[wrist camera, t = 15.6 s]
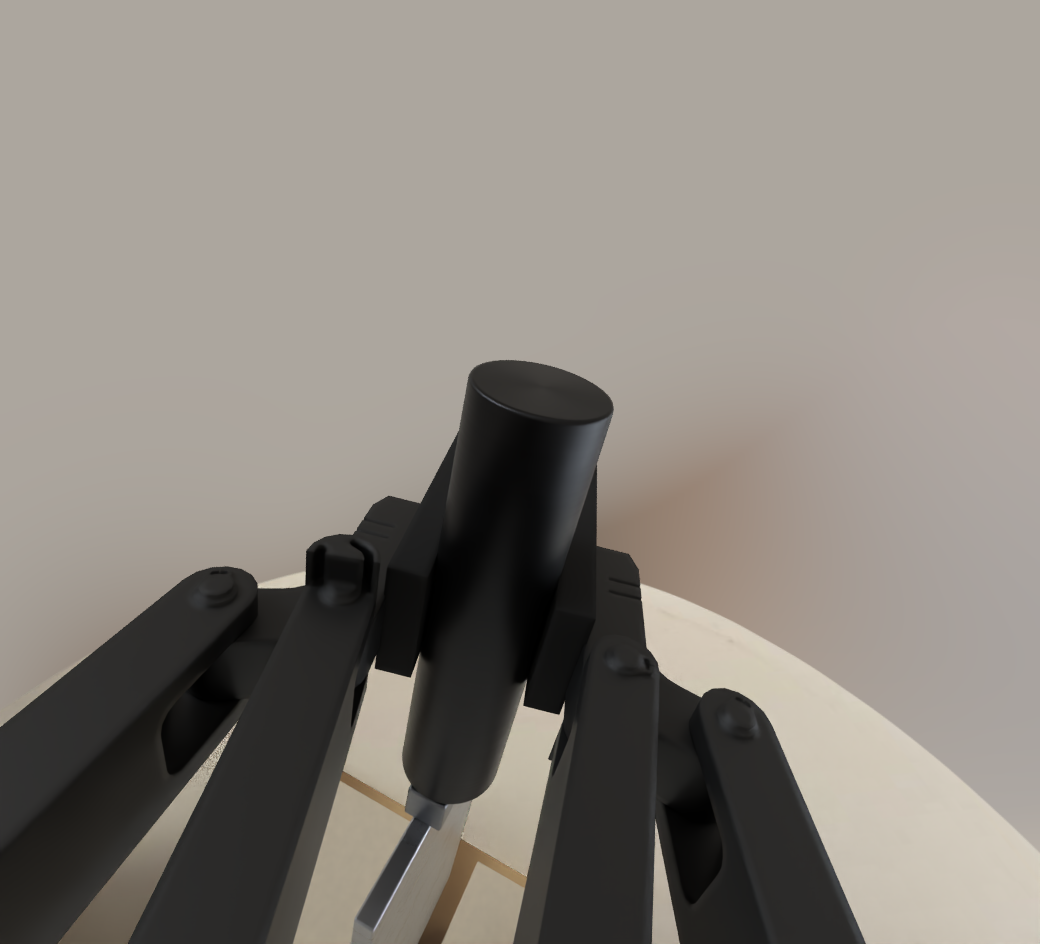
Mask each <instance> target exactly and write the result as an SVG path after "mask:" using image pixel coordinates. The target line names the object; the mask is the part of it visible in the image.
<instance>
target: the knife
mask: <svg viewBox="0 0 1040 944" xmlns="http://www.w3.org/2000/svg"><path fill="white" fill-rule="evenodd" d="M613 410H614V409H613V403H612V400H611V399H610V397H609V396H608V395H607V394H606V393H605V392H604V391H603V390H601V389H600V388H599V387H598V386H596V385H594V384H593V383H591V382H589V381H587V380H586V379H584V378H582V377H580V376H577V375H575V374H573V373H570V372H567V371H565V370H562V369H559V368H555V367H551V366H547V365H543V364H539V363H533V362H526V361H514V360H499V361H492V362H486V363H482V364H480V365H478V366H476V367H475V368H474V369H473V370H472V371H471V373H470V374H469V377H468V383H467V388H466V394H465V400H464V405H463V411H462V417H461V422H460V428H459V433H458V439H457V445H456V451H455V456H454V462H453V468H452V473H451V479H450V485H449V490H448V496H447V502H446V507H445V513H444V519H443V524H442V530H441V536H440V541H439V547H438V554H437V559H436V565H435V571H434V576H433V582H432V588H431V593H430V599H429V605H428V611H427V616H426V622H425V628H424V633H423V639H422V645H421V650H420V655H419V661H418V667H417V672H416V678H415V684H414V689H413V695H412V701H411V706H410V712H409V718H408V723H407V729H406V735H405V740H404V746H403V753H402V761H403V767H404V770H405V774H406V776H407V778H408V780H409V781H410V783H411V786H410V787H409V790H408V796H407V801H406V806H405V812H406V813H408V814H410V815H411V816H413V818H412V819H411V821H410V823H409V825H408V826H407V828H406V830H405V832H404V833H403V835H402V837H401V839H400V840H399V842H398V844H397V845H396V847H395V849H394V851H393V852H392V854H391V856H390V858H389V859H388V861H387V863H386V864H385V866H384V868H383V870H382V871H381V873H380V875H379V877H378V878H377V880H376V882H375V884H374V885H373V887H372V889H371V890H370V892H369V894H368V896H367V897H366V899H365V901H364V903H363V904H362V906H361V908H360V909H359V911H358V913H357V915H356V916H355V919H354V925H353V932H352V939H351V944H418V942H419V940H420V938H421V936H422V934H423V931H424V929H425V927H426V925H427V923H428V921H429V919H430V917H431V915H432V912H433V910H434V908H435V906H436V904H437V902H438V900H439V898H440V895H441V893H442V891H443V889H444V887H445V885H446V883H447V881H448V878H449V876H450V873H451V869H452V866H453V863H454V859H455V856H456V853H457V849H458V846H459V843H460V839H461V836H462V832H463V829H464V826H465V822H466V819H467V816H468V812H469V809H470V806H471V802H472V800H473V799H475V798H476V797H478V796H480V795H481V794H482V793H484V792H485V791H486V790H487V789H488V787H489V786H490V785H491V783H492V782H493V780H494V778H495V776H496V773H497V770H498V767H499V764H500V761H501V758H502V755H503V752H504V749H505V746H506V742H507V739H508V736H509V733H510V730H511V727H512V724H513V721H514V718H515V715H516V712H517V709H518V705H519V702H520V699H521V696H522V693H523V690H524V687H525V684H526V681H527V677H528V674H529V671H530V668H531V665H532V662H533V659H534V656H535V652H536V649H537V646H538V643H539V640H540V637H541V634H542V631H543V628H544V625H545V622H546V618H547V615H548V612H549V609H550V606H551V603H552V600H553V597H554V594H555V591H556V588H557V585H558V582H559V579H560V576H561V573H562V570H563V567H564V563H565V560H566V557H567V554H568V551H569V548H570V545H571V542H572V539H573V536H574V533H575V529H576V526H577V523H578V520H579V517H580V514H581V511H582V508H583V505H584V502H585V499H586V496H587V492H588V489H589V486H590V483H591V480H592V477H593V474H594V471H595V468H596V465H597V461H598V458H599V455H600V452H601V449H602V446H603V443H604V440H605V437H606V434H607V431H608V427H609V425H610V421H611V418H612V415H613Z"/></svg>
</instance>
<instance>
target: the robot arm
mask: <svg viewBox="0 0 1040 944" xmlns="http://www.w3.org/2000/svg"><path fill="white" fill-rule="evenodd" d="M458 433H459V432H458ZM458 433H457V436H456V437H455V439H454V441H453V443H452V445H451V447H450V449H449V450H448V452H447V454H446V456H445V458H444V460H443V462H442V464H441V466H440V468H439V469H438V472H437V473H436V475H435V478H434V479H433V481H432V483H431V485H430V487H429V488H428V490H427V492H426V494H425V496H424V498H423V500H422V502H421V504H420V503H416V502H412V501H408V500H404V499H400V498H396V497H392V496H388V497H385V498H384V499H382V500H380V501H379V502H377V503H375V504H373V506H372V507H371V508H370V510H369V512H368V513H367V514H366V516H365V517H364V520H363V521H362V522H361V523H360V525H359V527H358V528H357V531H355V532H354V534H353V535H343V534H338V535H333V536H327V537H324V538H322V539H320V540H318V541H316V542H314V543H313V544H312V545H311V546H310V547H309V549H307V551H306V582H305V586H300V587H296V588H284V589H263V588H258V586H257V582H256V581H255V579H254V577H253V576H252V575H251V574H249V573H247V572H246V571H244V570H242V569H238V568H233V567H212V568H209V569H205V570H202V571H198V572H196V573H194V574H192V575H190V576H189V577H187V578H185V579H184V580H182V581H181V582H180V583H179V584H177V585H176V586H175V587H174V588H172V589H171V590H170V591H169V592H167V593H166V594H165V595H164V596H162V597H161V598H160V599H159V600H158V601H156V602H155V603H154V604H153V605H152V606H150V607H149V608H148V609H146V610H145V611H144V612H143V613H141V614H140V615H139V616H138V617H137V618H135V619H134V620H133V621H131V622H130V623H129V624H128V625H126V626H125V627H124V628H123V629H122V630H120V631H119V632H118V633H117V634H115V635H114V636H113V637H112V638H110V639H109V640H108V641H107V642H105V643H104V644H103V645H102V646H100V647H99V648H98V649H97V650H95V651H94V652H93V653H92V654H91V655H89V656H88V657H87V658H86V659H84V660H83V661H82V662H81V663H79V664H78V665H77V666H76V667H74V668H73V669H72V670H71V671H69V672H68V673H67V674H66V675H64V676H63V677H62V678H61V679H60V680H58V681H57V682H56V683H55V684H53V685H52V686H51V687H50V688H48V689H47V690H46V691H45V692H43V693H42V694H41V695H40V696H38V697H37V698H36V699H35V700H34V701H32V702H31V703H30V704H29V705H27V706H26V707H25V708H24V709H22V710H21V711H20V712H19V713H17V714H16V715H15V716H14V717H12V718H11V719H10V720H9V721H7V722H6V723H5V724H4V725H3V726H1V727H0V944H57V943H58V942H59V941H60V939H61V938H62V937H63V936H64V934H65V933H66V932H67V931H68V930H69V928H70V927H71V926H72V925H73V923H74V922H75V921H76V920H77V918H78V917H79V916H80V915H81V914H82V912H83V911H84V910H85V909H86V907H87V906H88V905H89V904H90V902H91V901H92V900H93V899H94V897H95V896H96V895H97V894H98V893H99V891H100V890H101V889H102V888H103V886H104V885H105V884H106V883H107V881H108V880H109V879H110V878H111V877H112V875H113V874H114V873H115V872H116V870H117V869H118V868H119V867H120V865H121V864H122V863H123V862H124V861H125V859H126V858H127V857H128V856H129V854H130V853H131V852H132V851H133V849H134V848H135V847H136V846H137V844H138V843H139V842H140V841H141V840H142V838H143V837H144V836H145V835H146V833H147V832H148V831H149V830H150V828H151V827H152V826H153V825H154V824H155V822H156V821H157V820H158V819H159V817H160V816H161V815H162V814H163V812H164V811H165V810H166V809H167V807H168V806H169V805H170V804H171V803H172V801H173V800H174V799H175V798H176V796H177V795H178V794H179V793H180V791H181V790H182V789H183V788H184V787H185V785H186V784H187V783H188V782H189V780H190V779H191V778H192V777H193V775H194V774H195V773H196V772H197V771H198V769H199V768H200V767H201V766H202V764H203V763H204V762H205V761H206V759H207V758H208V757H209V756H210V754H211V753H212V752H213V751H214V750H215V748H216V747H217V746H218V745H219V743H220V742H221V741H222V740H223V738H224V737H225V736H226V735H227V734H228V732H229V731H230V730H231V729H232V727H233V726H234V725H235V724H236V722H237V721H238V722H237V724H236V726H235V728H234V730H233V732H232V734H231V736H230V738H229V740H228V742H227V744H226V746H225V748H224V750H223V752H222V755H221V757H220V759H219V761H218V763H217V765H216V767H215V769H214V771H213V773H212V775H211V777H210V779H209V781H208V783H207V785H206V787H205V789H204V791H203V793H202V795H201V797H200V799H199V801H198V803H197V805H196V807H195V809H194V811H193V813H192V815H191V817H190V819H189V821H188V823H187V825H186V827H185V829H184V831H183V833H182V835H181V837H180V839H179V841H178V843H177V845H176V847H175V849H174V851H173V853H172V855H171V857H170V859H169V861H168V863H167V865H166V867H165V869H164V872H163V874H162V876H161V878H160V880H159V882H158V884H157V886H156V888H155V890H154V892H153V894H152V896H151V898H150V900H149V902H148V904H147V906H146V908H145V910H144V912H143V914H142V916H141V918H140V920H139V922H138V924H137V926H136V928H135V930H134V932H133V934H132V936H131V938H130V940H129V942H128V944H293V942H294V938H295V935H296V931H297V928H298V924H299V921H300V917H301V914H302V910H303V907H304V903H305V900H306V896H307V893H308V890H309V886H310V883H311V879H312V876H313V872H314V869H315V865H316V862H317V858H318V855H319V851H320V848H321V844H322V841H323V837H324V834H325V831H326V827H327V824H328V820H329V817H330V813H331V810H332V806H333V803H334V799H335V796H336V792H337V789H338V785H339V782H340V778H341V775H342V772H343V768H344V765H345V761H346V758H347V754H348V751H349V747H350V744H351V740H352V737H353V733H354V730H355V726H356V723H357V719H358V716H359V712H360V709H361V706H362V702H363V699H364V695H365V692H366V688H367V679H368V672H369V670H370V667H371V665H372V663H373V661H374V659H375V656H376V662H375V669H378V670H382V671H386V672H390V673H394V674H398V675H402V676H406V677H410V678H411V675H412V672H413V670H414V667H415V664H416V661H417V659H418V656H419V653H420V650H421V645H422V639H423V633H424V628H425V622H426V616H427V611H428V605H429V599H430V593H431V588H432V582H433V576H434V571H435V565H436V559H437V554H438V547H439V541H440V536H441V530H442V524H443V519H444V513H445V507H446V502H447V496H448V490H449V485H450V479H451V473H452V468H453V462H454V456H455V451H456V445H457V439H458ZM596 520H597V465H596V468H595V471H594V474H593V477H592V480H591V483H590V486H589V489H588V492H587V496H586V499H585V502H584V505H583V508H582V511H581V514H580V517H579V520H578V523H577V526H576V529H575V533H574V536H573V539H572V542H571V545H570V548H569V551H568V554H567V557H566V560H565V563H564V567H563V570H562V573H561V576H560V579H559V582H558V585H557V588H556V591H555V594H554V597H553V600H552V603H551V606H550V609H549V612H548V615H547V618H546V622H545V625H544V628H543V631H542V634H541V637H540V640H539V643H538V646H537V649H536V652H535V656H534V659H533V662H532V665H531V668H530V671H529V674H528V677H527V684H526V691H525V698H524V705H523V706H526V707H530V708H534V709H538V710H542V711H546V712H550V713H554V714H558V715H559V714H560V712H561V709H562V707H563V704H564V701H565V709H564V720H563V722H562V725H561V727H560V730H559V733H558V735H557V738H556V740H555V743H554V745H553V748H552V750H551V753H550V755H549V758H548V759H549V760H552V763H551V767H550V772H549V777H548V781H547V786H546V791H545V795H544V800H543V805H542V810H541V814H540V819H539V824H538V828H537V833H536V838H535V843H534V847H533V852H532V857H531V861H530V866H529V871H528V875H527V880H526V885H525V890H524V894H523V899H522V904H521V908H520V913H519V918H518V923H517V927H516V932H515V937H514V941H513V944H652V916H653V882H654V848H655V818H656V824H657V829H658V834H659V839H660V844H661V849H662V854H663V859H664V864H665V870H666V875H667V880H668V885H669V890H670V895H671V900H672V905H673V910H674V915H675V921H676V926H677V931H678V936H679V941H680V944H866V943H865V941H864V938H863V936H862V934H861V931H860V929H859V927H858V924H857V922H856V920H855V917H854V915H853V913H852V911H851V908H850V906H849V904H848V901H847V899H846V897H845V894H844V892H843V890H842V887H841V885H840V883H839V880H838V878H837V876H836V873H835V871H834V869H833V866H832V864H831V862H830V859H829V857H828V855H827V852H826V850H825V848H824V845H823V843H822V841H821V838H820V836H819V834H818V831H817V829H816V827H815V824H814V822H813V820H812V817H811V815H810V813H809V810H808V808H807V806H806V803H805V801H804V799H803V796H802V794H801V792H800V789H799V787H798V785H797V782H796V780H795V778H794V775H793V773H792V771H791V769H790V766H789V764H788V762H787V759H786V757H785V755H784V752H783V750H782V748H781V745H780V743H779V741H778V738H777V736H776V734H775V731H774V729H773V727H772V725H771V723H770V721H769V720H768V718H767V716H766V715H765V713H764V712H763V711H762V710H761V709H760V708H759V707H758V706H757V705H756V704H755V703H754V702H753V701H752V700H750V699H748V698H747V697H745V696H743V695H742V694H740V693H738V692H735V691H732V690H729V689H725V688H718V689H711V690H709V691H708V692H706V693H704V694H703V696H702V698H701V697H699V696H697V695H695V694H693V693H691V692H689V691H688V690H686V689H684V688H682V687H680V686H678V685H677V684H675V683H673V682H672V681H670V680H669V679H667V678H666V677H665V676H664V675H663V674H662V673H661V672H659V668H658V663H657V661H656V660H655V658H654V657H653V655H652V653H651V652H650V651H649V650H648V649H647V647H646V638H645V628H644V618H643V608H642V601H641V588H640V578H639V569H638V568H637V566H636V565H635V563H634V562H633V560H632V558H631V557H630V555H629V554H626V553H622V552H618V551H614V550H610V549H606V548H602V547H598V546H596V533H597V532H596V531H597V529H596V527H597V524H596V523H597V521H596Z"/></svg>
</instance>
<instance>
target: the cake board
mask: <svg viewBox="0 0 1040 944" xmlns="http://www.w3.org/2000/svg"><path fill="white" fill-rule="evenodd" d="M340 781H341V782H343V783H345V784H346V785H348V786H350V787H352V788H353V789H355V790H357V791H358V792H360V793H362V794H364V795H365V796H367V797H369V798H370V799H372V800H374V801H376V802H377V803H379V804H381V805H382V806H384V807H386V808H388V809H389V810H391V811H393V812H394V813H396V814H398V815H400V816H401V817H403V818H405V819H407V820H408V821H411V819H412V818H413V816H411V815H410V814H408V813H406V812H405V807H404V806H403V805H401V804H399V803H397V802H396V801H394V800H392V799H390V798H389V797H387V796H385V795H384V794H382V793H380V792H378V791H377V790H375V789H373V788H371V787H370V786H368V785H366V784H364V783H363V782H361V781H359V780H358V779H356V778H354V777H352V776H351V775H349V774H347V773H345V772H344V771H343V772H342V775H341V778H340ZM477 862H480V863H482V864H484V865H485V866H487V867H489V868H491V869H492V870H494V871H496V872H497V873H499V874H501V875H503V876H504V877H506V878H508V879H509V880H511V881H513V882H515V883H516V884H518V885H520V886H521V887H523V888H525V885H526V880H527V877H526V876H524V875H522V874H520V873H519V872H517V871H515V870H513V869H512V868H510V867H508V866H507V865H505V864H503V863H501V862H500V861H498V860H496V859H494V858H493V857H491V856H489V855H487V854H486V853H484V852H482V851H481V850H479V849H477V848H475V847H474V846H472V845H470V844H468V843H467V842H465V841H463V840H461V839H460V843H459V846H458V849H457V853H456V856H455V859H454V863H453V866H452V869H451V873H450V876H449V878H448V881H447V883H446V885H445V887H444V889H443V891H442V893H441V895H440V898H439V900H438V902H437V904H436V906H435V908H434V910H433V912H432V915H431V917H430V919H429V921H428V923H427V925H426V927H425V929H424V931H423V934H422V936H421V938H420V940H419V942H418V944H442V941H443V939H444V937H445V934H446V932H447V930H448V928H449V925H450V923H451V921H452V919H453V916H454V914H455V912H456V909H457V907H458V905H459V903H460V900H461V898H462V896H463V894H464V891H465V889H466V887H467V884H468V882H469V880H470V878H471V875H472V873H473V871H474V869H475V866H476V864H477Z"/></svg>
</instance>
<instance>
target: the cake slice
mask: <svg viewBox="0 0 1040 944" xmlns="http://www.w3.org/2000/svg"><path fill="white" fill-rule="evenodd" d="M524 890H525V888H523V887H521V886H520V885H518V884H516V883H515V882H513V881H511V880H509V879H508V878H506V877H504V876H503V875H501V874H499V873H497V872H496V871H494V870H492V869H491V868H489V867H487V866H485V865H484V864H482V863H480V862H477V864H476V866H475V869H474V871H473V873H472V875H471V878H470V880H469V882H468V884H467V887H466V889H465V891H464V894H463V896H462V898H461V900H460V903H459V905H458V907H457V909H456V912H455V914H454V916H453V919H452V921H451V923H450V925H449V928H448V930H447V932H446V934H445V937H444V939H443V941H442V944H513V941H514V937H515V932H516V927H517V923H518V918H519V913H520V908H521V904H522V899H523V894H524Z"/></svg>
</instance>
